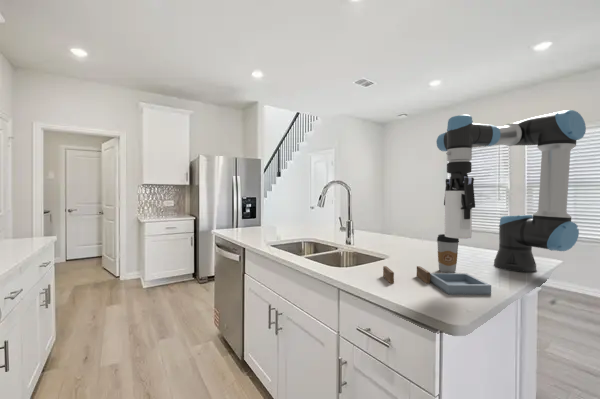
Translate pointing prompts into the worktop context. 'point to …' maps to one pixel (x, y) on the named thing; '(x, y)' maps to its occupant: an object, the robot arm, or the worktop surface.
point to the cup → (455, 216)
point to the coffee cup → (447, 253)
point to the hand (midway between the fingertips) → (458, 227)
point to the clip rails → (421, 274)
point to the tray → (459, 284)
